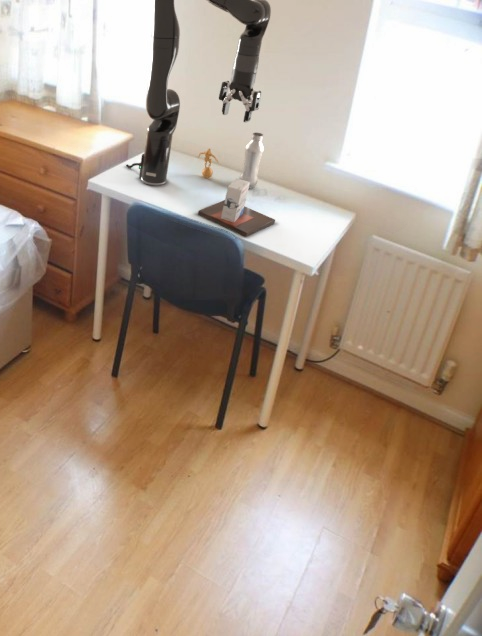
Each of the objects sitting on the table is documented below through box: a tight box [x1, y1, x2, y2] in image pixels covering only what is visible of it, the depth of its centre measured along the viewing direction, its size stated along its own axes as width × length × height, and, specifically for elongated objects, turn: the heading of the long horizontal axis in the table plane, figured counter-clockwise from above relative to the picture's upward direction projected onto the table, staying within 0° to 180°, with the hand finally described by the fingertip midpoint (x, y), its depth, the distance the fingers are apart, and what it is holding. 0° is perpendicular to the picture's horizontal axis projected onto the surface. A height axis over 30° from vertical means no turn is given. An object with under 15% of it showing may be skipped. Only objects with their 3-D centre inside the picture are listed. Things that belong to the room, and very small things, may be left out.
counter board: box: [197, 199, 276, 238], centre depth 241 cm, size 20×16×2 cm
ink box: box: [221, 178, 250, 222], centre depth 236 cm, size 9×5×12 cm, turn 148°
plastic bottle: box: [238, 132, 265, 189], centre depth 258 cm, size 6×7×20 cm
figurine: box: [197, 148, 219, 179], centre depth 265 cm, size 8×6×12 cm
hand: (235, 118), depth 235 cm, fingers open, 8 cm apart
